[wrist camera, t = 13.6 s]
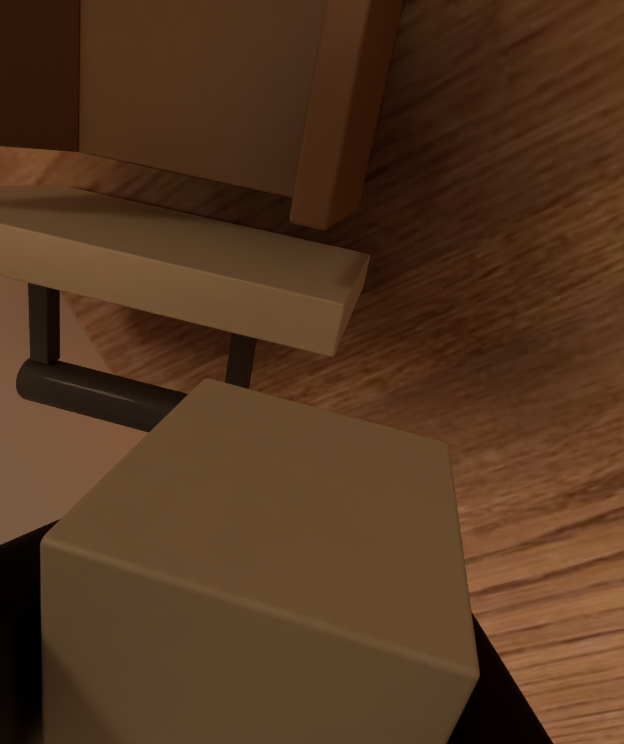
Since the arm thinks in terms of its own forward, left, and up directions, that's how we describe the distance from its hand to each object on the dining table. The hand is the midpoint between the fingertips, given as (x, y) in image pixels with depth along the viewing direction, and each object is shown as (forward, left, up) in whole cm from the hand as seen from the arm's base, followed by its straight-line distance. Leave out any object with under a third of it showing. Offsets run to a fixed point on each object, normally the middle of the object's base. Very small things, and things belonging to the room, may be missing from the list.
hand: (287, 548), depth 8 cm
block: (0, 0, -1) cm, 1 cm away
